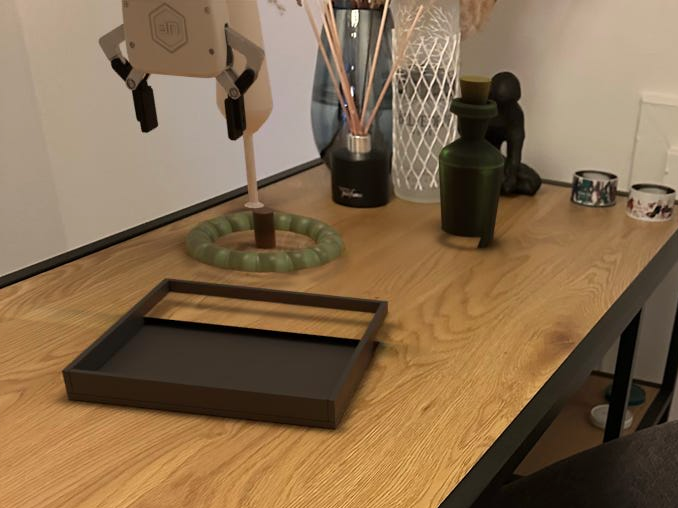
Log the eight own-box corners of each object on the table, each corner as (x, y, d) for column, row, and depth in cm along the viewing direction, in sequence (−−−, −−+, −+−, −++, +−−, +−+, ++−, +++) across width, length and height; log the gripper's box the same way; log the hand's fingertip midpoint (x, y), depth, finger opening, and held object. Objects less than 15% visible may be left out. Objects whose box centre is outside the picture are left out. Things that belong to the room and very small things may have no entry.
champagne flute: (286, 211, 124) (272, -7, 109) (273, 226, 119) (256, -1, 104) (237, 207, 124) (214, -12, 109) (221, 222, 119) (196, -6, 104)
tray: (68, 399, 80) (61, 370, 78) (168, 302, 97) (164, 277, 96) (335, 429, 79) (334, 400, 77) (388, 326, 96) (388, 300, 95)
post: (222, 266, 107) (216, 217, 104) (244, 244, 113) (239, 197, 110) (291, 273, 107) (287, 224, 103) (309, 251, 113) (306, 204, 109)
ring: (163, 276, 103) (159, 248, 101) (217, 228, 117) (214, 202, 115) (323, 292, 102) (322, 264, 101) (358, 242, 116) (358, 217, 114)
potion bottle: (503, 235, 122) (515, 76, 111) (493, 254, 116) (504, 88, 104) (442, 227, 123) (448, 69, 111) (429, 246, 117) (433, 81, 105)
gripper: (64, -66, 89) (101, 135, 100) (242, -52, 88) (260, 149, 99) (98, -70, 94) (130, 119, 106) (265, -58, 93) (280, 133, 105)
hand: (193, 133), depth 102 cm, fingers open, 9 cm apart
